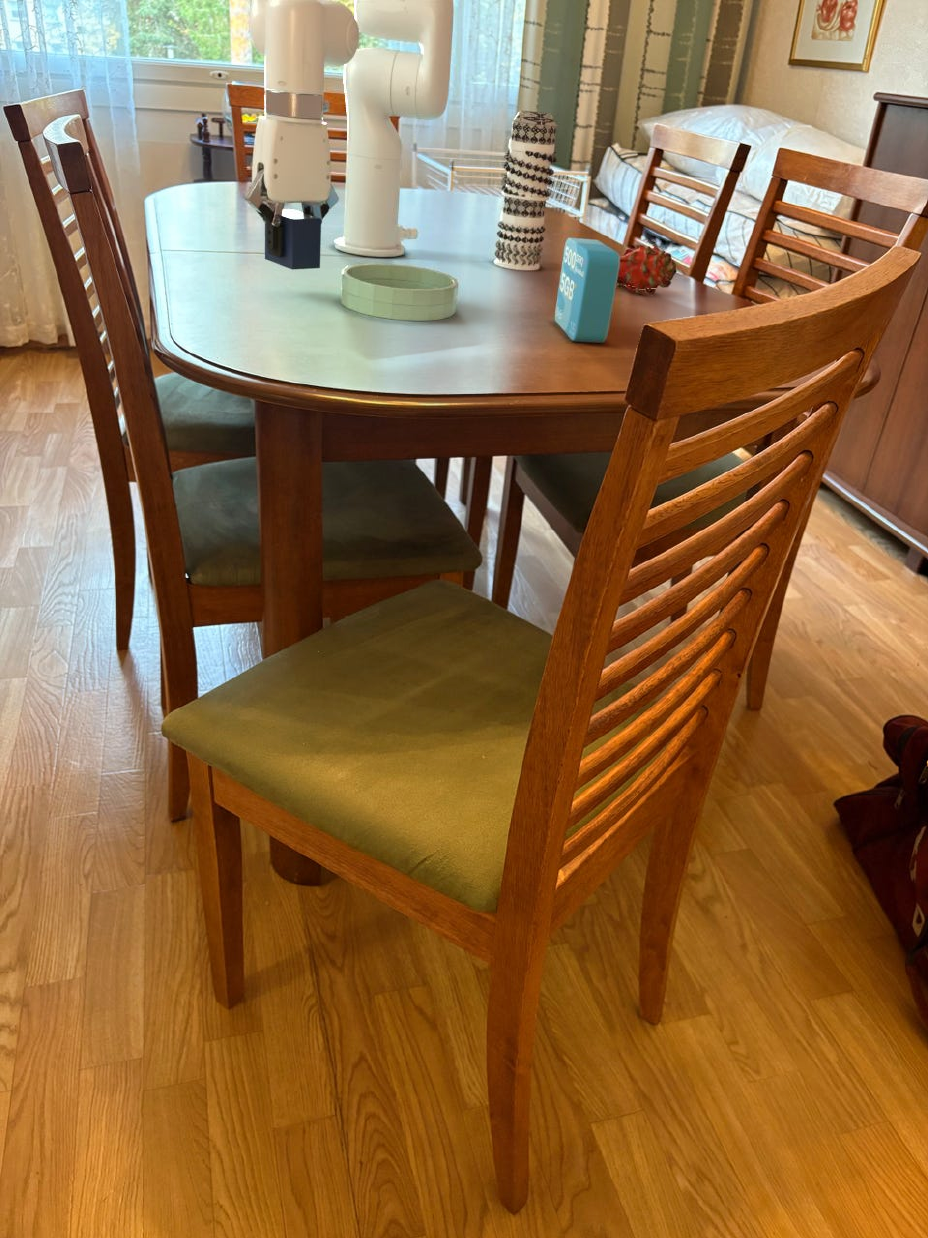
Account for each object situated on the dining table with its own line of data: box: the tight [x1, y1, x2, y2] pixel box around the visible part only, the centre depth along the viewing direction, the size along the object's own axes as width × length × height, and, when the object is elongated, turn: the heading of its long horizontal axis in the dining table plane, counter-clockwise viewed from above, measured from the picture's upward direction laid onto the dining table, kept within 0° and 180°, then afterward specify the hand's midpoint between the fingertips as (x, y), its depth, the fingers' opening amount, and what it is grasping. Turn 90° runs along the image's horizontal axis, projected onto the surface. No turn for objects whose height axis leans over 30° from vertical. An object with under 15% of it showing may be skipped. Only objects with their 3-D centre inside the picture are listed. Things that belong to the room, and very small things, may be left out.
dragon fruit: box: [616, 243, 678, 295], centre depth 165 cm, size 8×8×12 cm
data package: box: [554, 237, 620, 344], centre depth 133 cm, size 12×4×12 cm, turn 10°
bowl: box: [340, 263, 459, 322], centre depth 137 cm, size 16×16×4 cm
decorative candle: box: [493, 110, 558, 271], centre depth 170 cm, size 9×9×25 cm
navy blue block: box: [264, 209, 322, 271], centre depth 133 cm, size 5×7×6 cm, turn 42°
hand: (292, 253), depth 134 cm, fingers closed on navy blue block, 4 cm apart
